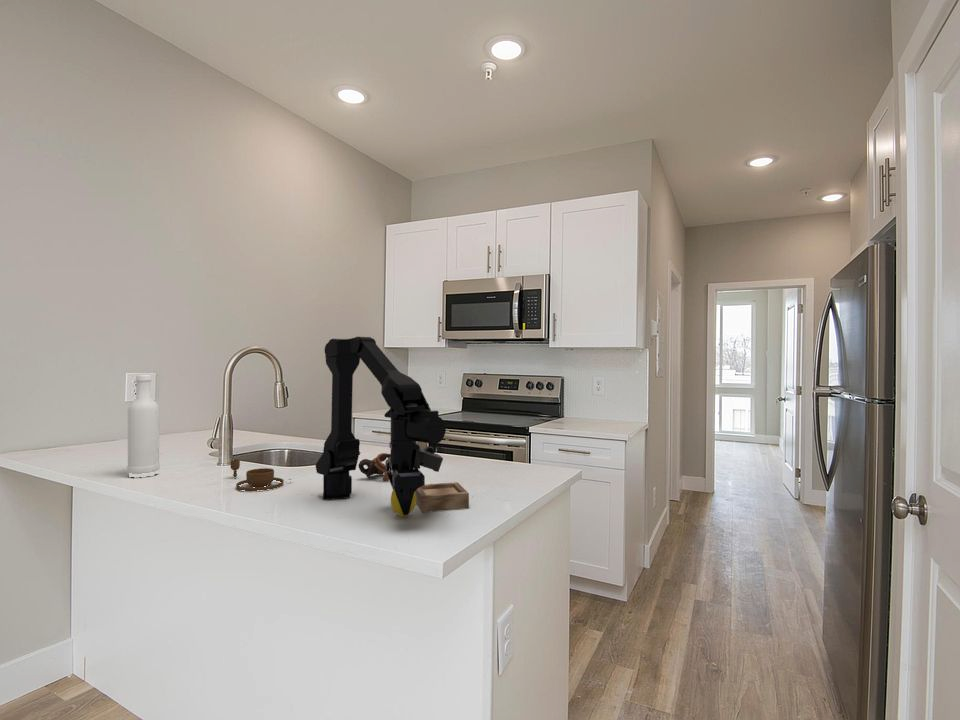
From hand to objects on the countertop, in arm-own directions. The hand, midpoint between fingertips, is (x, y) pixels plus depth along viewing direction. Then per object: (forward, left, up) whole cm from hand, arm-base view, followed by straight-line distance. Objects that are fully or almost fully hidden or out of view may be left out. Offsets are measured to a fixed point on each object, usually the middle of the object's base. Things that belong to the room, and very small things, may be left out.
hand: (403, 510), depth 110 cm
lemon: (0, 0, -2) cm, 2 cm away
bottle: (-69, +62, -2) cm, 93 cm away
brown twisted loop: (-2, +38, -2) cm, 38 cm away
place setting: (-34, +42, -2) cm, 54 cm away
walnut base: (+10, +8, -2) cm, 13 cm away
